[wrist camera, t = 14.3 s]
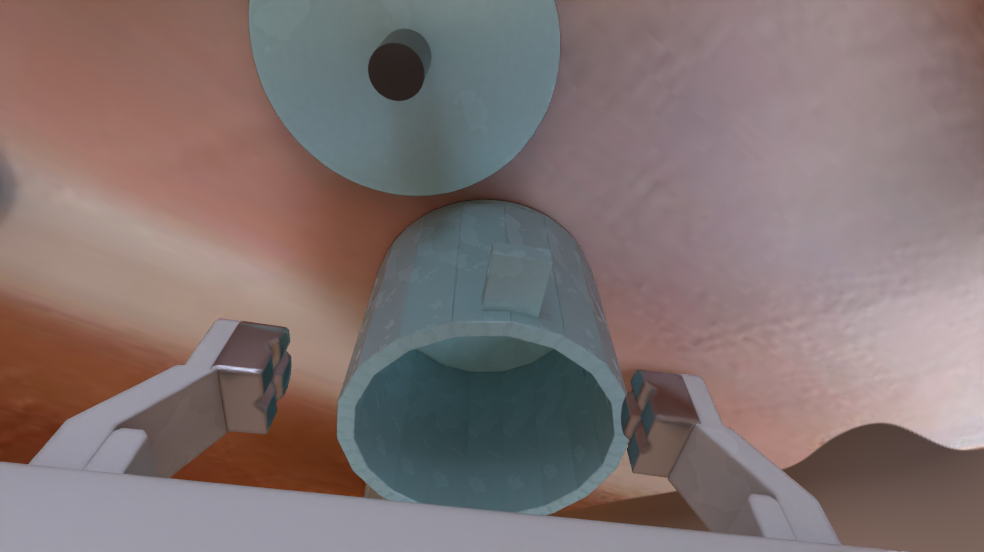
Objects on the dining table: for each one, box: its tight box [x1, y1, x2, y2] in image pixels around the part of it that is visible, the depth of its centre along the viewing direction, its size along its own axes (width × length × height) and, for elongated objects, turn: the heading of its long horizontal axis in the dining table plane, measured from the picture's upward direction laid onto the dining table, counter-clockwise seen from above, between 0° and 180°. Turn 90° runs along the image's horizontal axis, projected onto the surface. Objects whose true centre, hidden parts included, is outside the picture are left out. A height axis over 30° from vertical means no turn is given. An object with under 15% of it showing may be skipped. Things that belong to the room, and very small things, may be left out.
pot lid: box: [249, 0, 560, 196], centre depth 26 cm, size 15×15×5 cm
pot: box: [337, 200, 629, 515], centre depth 31 cm, size 14×19×12 cm
